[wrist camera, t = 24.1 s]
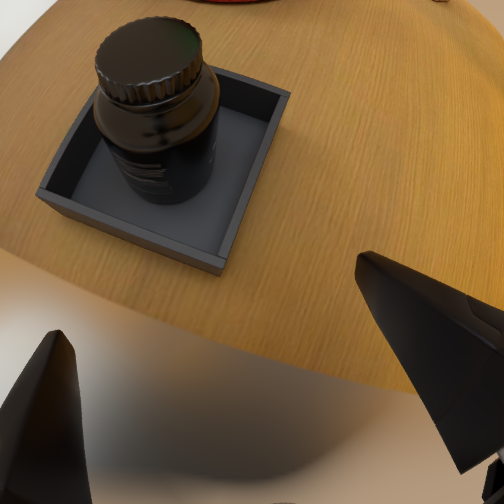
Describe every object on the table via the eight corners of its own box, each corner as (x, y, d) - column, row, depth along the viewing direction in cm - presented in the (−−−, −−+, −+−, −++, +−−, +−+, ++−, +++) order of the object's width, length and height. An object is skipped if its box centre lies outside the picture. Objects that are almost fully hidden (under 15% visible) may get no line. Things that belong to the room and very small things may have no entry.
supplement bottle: (234, 166, 23) (261, 54, 12) (160, 225, 22) (119, 142, 10) (177, 108, 24) (169, -11, 12) (107, 159, 22) (50, 55, 10)
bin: (219, 276, 22) (223, 269, 18) (60, 213, 22) (34, 195, 17) (277, 123, 25) (291, 92, 21) (135, 79, 24) (127, 45, 20)
